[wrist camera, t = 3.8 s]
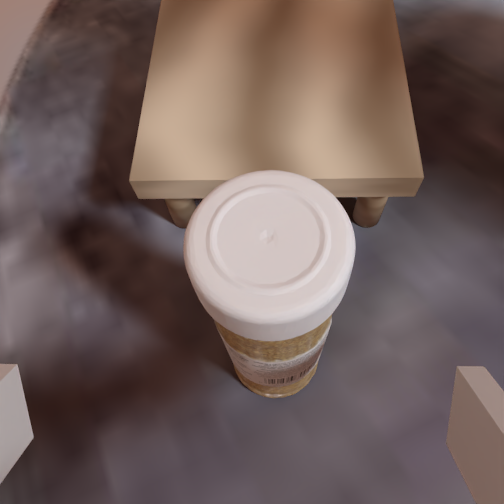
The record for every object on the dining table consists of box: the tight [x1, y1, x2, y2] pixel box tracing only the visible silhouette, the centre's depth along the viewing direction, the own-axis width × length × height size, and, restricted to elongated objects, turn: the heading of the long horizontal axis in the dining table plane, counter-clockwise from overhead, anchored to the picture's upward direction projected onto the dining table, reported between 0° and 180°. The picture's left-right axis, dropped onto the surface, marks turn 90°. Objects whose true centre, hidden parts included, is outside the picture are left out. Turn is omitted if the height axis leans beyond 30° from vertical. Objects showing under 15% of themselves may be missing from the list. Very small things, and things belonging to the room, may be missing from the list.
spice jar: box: [183, 170, 355, 398], centre depth 17 cm, size 5×5×14 cm
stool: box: [129, 0, 424, 228], centre depth 27 cm, size 14×14×6 cm
